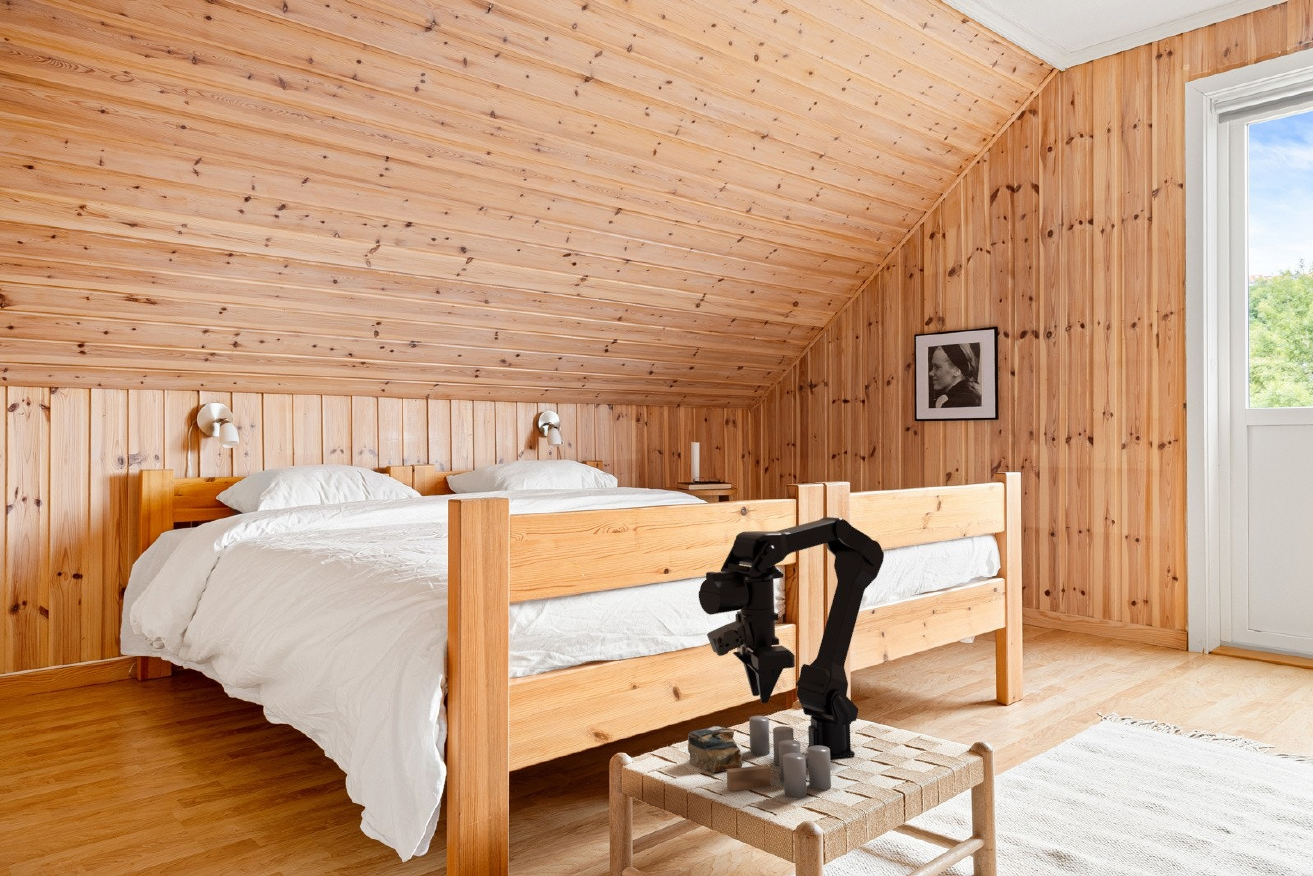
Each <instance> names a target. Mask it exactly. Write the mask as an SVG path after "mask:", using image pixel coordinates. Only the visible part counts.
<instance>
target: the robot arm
mask: <svg viewBox="0 0 1313 876" xmlns="http://www.w3.org/2000/svg"><path fill="white" fill-rule="evenodd" d="M824 544H825V545H826V548H827V550H828V552H830V553H831V554H832V555H833V556H834V563H833V568H834V572H835V576H836V580H837V584H836V587H835V591H834V595H833V598H832V601H831V606H830V608H829V611H828V612H829V613H828V617H827V621H826V624H825V628H824V630H823V634H822V638H821V642H820V645H819V649H818V652H817V655H816V658H815V659H814V660H813V661H812V662H811V663H810V664H806V663H803V664H802V665H801V667H800V672H799V677H798V680H797V682H796V683H795V686H796V687H797V689H796V697H797V698H798V701H799V703H800V705H801V708H802V710H803V714H804V715H805V716H810V725H808V726H807V728H808V731H807V732H808V745H807V749H808V748H809V747H811V746H826V747H828V748H829V749H830V759H839V758H845V757H854V756H855V755H856V753H855V751H853V750H852V747H851V725H852V723H853V722H857V718H858V713H859V708H858V707H857V705H855V703H854V702H853V701H852V700H851V699H850V698H849V697H848V696H847V695H848V687H849V681H848V677H847V672H846V669H845V663H846V661H847V656H848V653H849V649H850V644H851V641H852V638H853V634H854V631H855V627H856V624H857V620H858V615H859V612H860V608H861V604H862V601H863V596H864V593H865V591H866V589H867V588H868V587H869V586H870V585H871V584H872V583H873V582H874V580H876V579H877V577H878V575H879V572H880V570H881V567H882V565H883V562H884V558H885V553H884V550H883V549H882V546H881V544H880V543H879V542H878V540H877V541H876V540H873V539H872V538H871V536H869V535H868V534H865V533H864V532H862V531H860V530H859V529H857V528H855V527H854V526H853V525H851V524H850V522H849V521H848V520H846V519H844V518H842V517H831V516H824V517H822V518H820V519H819V520H814V521H810V522H806V523H803V524H799V525H795V526H792V527H791V526H790V527H788V528H784V529H780V530H776V531H771V530H770V531H768V530H767V531H764V530H763V531H761V530H760V531H758V530H757V531H756V530H754V531H753V530H751V531H750V530H749V531H742V532H739V533H737V534H736V536H735V539H734V542H733V544H732V547H731V549H730V550H729V553H728V555H727V556H726V559H725V560H724V562H723V564H722V567H721V568H720V571H707V572H706V573H705V580H703V582H702V583H701V585H700V586H699V587H700V588H699V590H698V601H699V604H700V606H701V609H702V610H703V612H705V613H706V614H708V615H709V616H711V615H718V614H724V613H730V612H736V613H735V614H734V615H735V621H732V622H730V623H727V624H725V625H722V626H719V627H718V628H716V629H713V630H712V631H709V632H708V633H707V634H706V636H707V639H708V641H709V643H710V646H711V649H712V651H713V652H714V653H715V654H716V655H717V656H718V657H719V656H720V657H723V656H725V655H727V654H728V653H730V651H733V650H735V649H737V650H736V651H733V652H732V654H733V655H734V656H735V657H736V658H737V659H738V660H739V661H740V662H741V663H742V665H743V667H744V670H745V674H746V677H747V681H748V685H749V688H750V691H751V694H752V696H753V697H758V696H759V699H760V703H761V704H768V703H769V701H770V698H771V696H772V694H773V691H774V690H775V687H776V684H777V682H778V680H779V679H780V676H781V674H782V672H783V671H784V669H794V668H795V667H796V663H795V662H796V659H795V657H796V655H795V654H794V652H792V651H791V650H790V649H789V648H786V647H785V646H784V645H780V638H778V637H777V636H776V621H779V619H780V618H779V614H778V613H777V612H776V611H775V592H774V591H775V587H774V586H775V585H774V583H775V581H774V580H776V579H782V578H784V575H785V574H784V573H783V572H782V571H781V570H780V569H778V568H777V567H776V565H778V564H779V563H781V562H783V561H785V558H786V557H787V556H789V555H790V554H792V553H795V552H800V551H803V550H806V549H810V548H813V547H816V546H822V545H824Z"/></svg>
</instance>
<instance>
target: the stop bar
mask: <svg viewBox="0 0 1313 876" xmlns="http://www.w3.org/2000/svg"><path fill="white" fill-rule="evenodd" d="M771 770H772V768H771V766H769V765H768V764H761V765H752V766H742V767H739V768H733V769H727V770H726V787H727V789H728V791H729V792H735V791H743V790H750V789H751V790H752V789H760V788H768V787H772V772H771Z"/></svg>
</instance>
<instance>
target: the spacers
mask: <svg viewBox="0 0 1313 876" xmlns="http://www.w3.org/2000/svg"><path fill="white" fill-rule="evenodd" d="M748 719H749V720H748V723H749V727H748V729H749V753H750V754H752V755H755V756H766V755H770V753H771V752H770V751H771V749H770V747H771V746H770V721H769V720H770V719H769V717H768V716H765V715H753V716H749V718H748ZM794 739H795V738H794V728H793V727H790V726H785V725H784V726H782V725H781V726H779V725H778V726H775V727H774V728H772V740H773V741H772V742H773V743H772V744H773V765H774V766H775V767H777V768H779V780H780V782H782V783H783V795H784V797H786V798H788V799H792V800H799V799H804V798H806V797H807V768H808V787H809V788H810V789H811V790H814V791H828V790H830V789H831V788H832V785H831V784H832V780H831V779H832V776H831V775H832V774H831V758H830V749H829V748H828V747H826V746H811V747H809V748H808V747H807V753H808V767H807V766H806V760H805V755H804V754H803V753H801V742H800V741H798V740H794ZM806 767H807V768H806Z"/></svg>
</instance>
